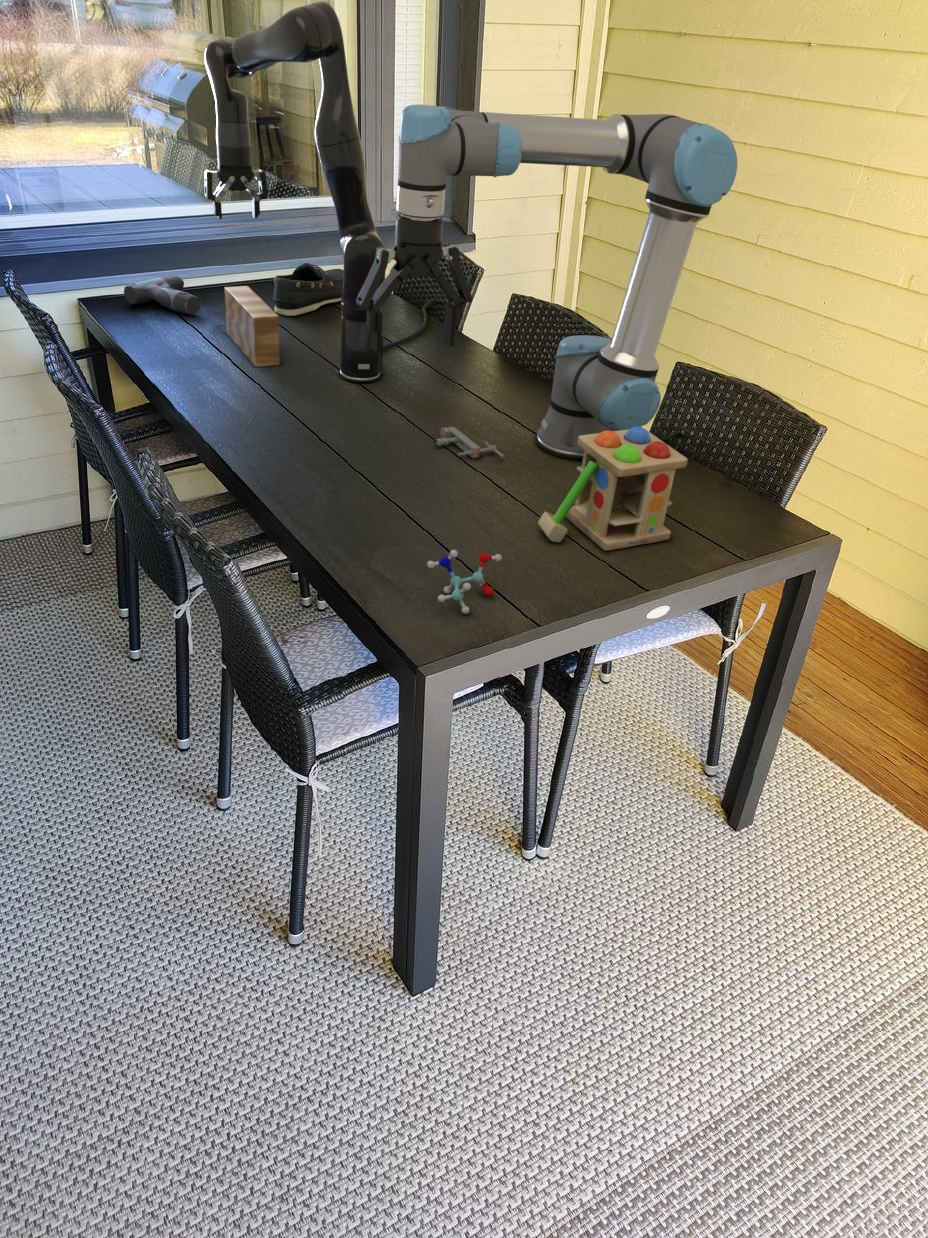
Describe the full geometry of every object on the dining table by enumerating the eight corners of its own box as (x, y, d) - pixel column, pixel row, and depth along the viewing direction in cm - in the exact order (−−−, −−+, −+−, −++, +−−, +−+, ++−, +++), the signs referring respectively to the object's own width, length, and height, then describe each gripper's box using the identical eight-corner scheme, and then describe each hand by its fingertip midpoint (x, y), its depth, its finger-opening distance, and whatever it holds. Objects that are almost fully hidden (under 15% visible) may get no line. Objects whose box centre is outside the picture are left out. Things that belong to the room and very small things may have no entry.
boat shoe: (367, 296, 285) (368, 259, 280) (292, 317, 262) (291, 278, 256) (333, 288, 291) (332, 251, 286) (256, 308, 267) (254, 269, 262)
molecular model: (493, 609, 147) (472, 545, 146) (437, 624, 151) (416, 563, 149) (514, 592, 158) (494, 533, 156) (461, 607, 161) (442, 549, 160)
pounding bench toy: (563, 559, 168) (578, 464, 158) (523, 521, 178) (535, 429, 168) (671, 539, 177) (692, 448, 167) (627, 503, 188) (644, 416, 178)
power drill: (228, 285, 263) (174, 269, 271) (176, 299, 250) (121, 282, 258) (229, 305, 266) (176, 289, 274) (178, 320, 253) (123, 303, 261)
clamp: (428, 429, 204) (470, 423, 208) (427, 439, 205) (469, 432, 209) (464, 459, 193) (507, 451, 198) (463, 469, 194) (506, 461, 199)
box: (226, 333, 249) (224, 286, 242) (249, 331, 251) (247, 285, 244) (255, 366, 231) (253, 317, 225) (279, 364, 234) (278, 315, 227)
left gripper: (206, 145, 217) (211, 222, 226) (269, 145, 223) (271, 220, 232) (198, 139, 222) (203, 214, 231) (259, 139, 228) (262, 213, 237)
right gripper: (355, 223, 147) (352, 360, 159) (500, 219, 158) (487, 348, 170) (337, 211, 153) (335, 344, 165) (478, 208, 163) (467, 334, 175)
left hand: (237, 217), depth 231 cm, fingers open, 8 cm apart
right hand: (412, 346), depth 167 cm, fingers open, 13 cm apart
